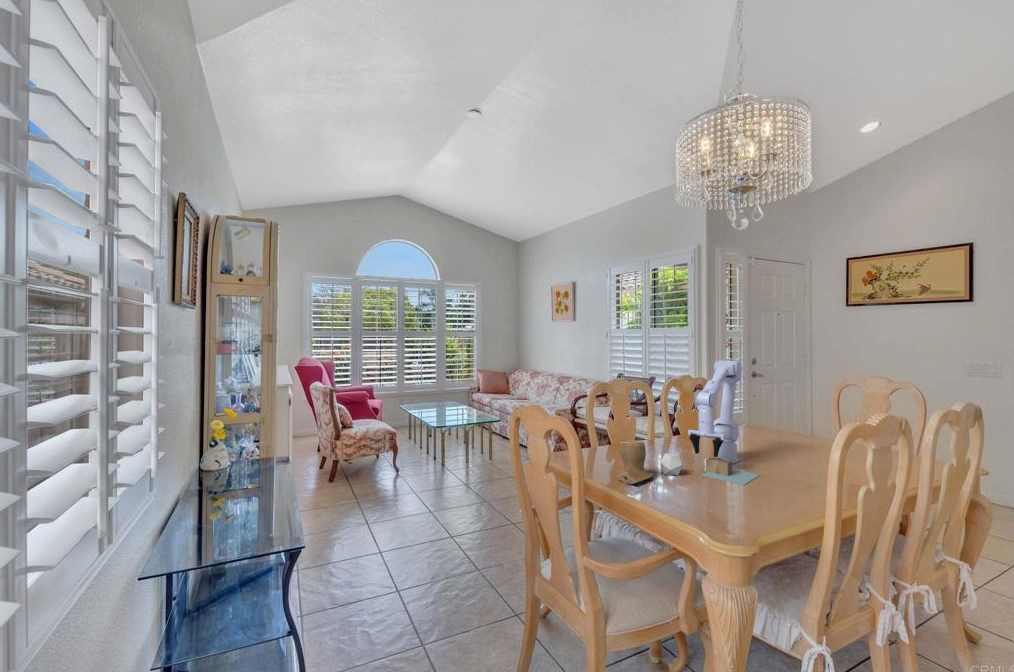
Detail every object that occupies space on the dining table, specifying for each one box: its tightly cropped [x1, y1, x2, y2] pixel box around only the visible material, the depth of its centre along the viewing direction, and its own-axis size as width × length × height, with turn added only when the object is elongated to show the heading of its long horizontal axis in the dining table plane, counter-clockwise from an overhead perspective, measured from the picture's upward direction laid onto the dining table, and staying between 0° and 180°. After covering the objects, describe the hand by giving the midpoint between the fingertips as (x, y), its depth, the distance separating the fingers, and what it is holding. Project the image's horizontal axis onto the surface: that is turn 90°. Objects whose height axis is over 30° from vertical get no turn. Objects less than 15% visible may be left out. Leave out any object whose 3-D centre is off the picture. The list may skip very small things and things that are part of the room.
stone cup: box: [616, 440, 654, 485], centre depth 180 cm, size 15×12×15 cm
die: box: [659, 452, 683, 476], centre depth 187 cm, size 8×9×10 cm
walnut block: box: [704, 456, 734, 476], centre depth 187 cm, size 5×5×9 cm
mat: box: [701, 469, 760, 486], centre depth 184 cm, size 16×16×1 cm
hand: (706, 454), depth 191 cm, fingers open, 7 cm apart
